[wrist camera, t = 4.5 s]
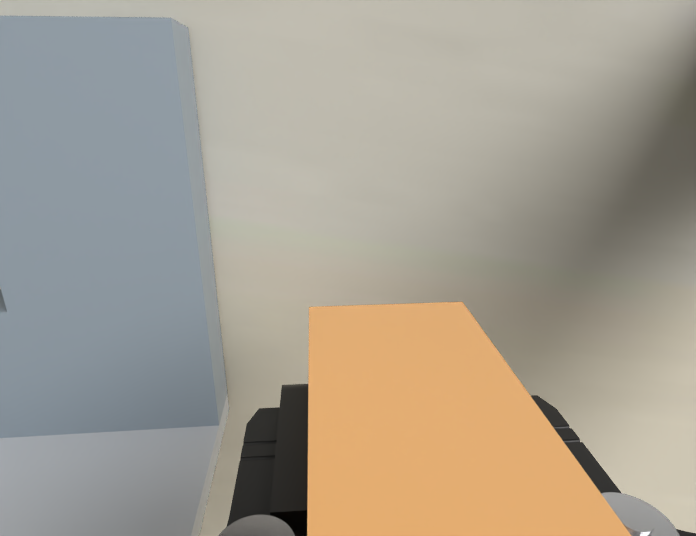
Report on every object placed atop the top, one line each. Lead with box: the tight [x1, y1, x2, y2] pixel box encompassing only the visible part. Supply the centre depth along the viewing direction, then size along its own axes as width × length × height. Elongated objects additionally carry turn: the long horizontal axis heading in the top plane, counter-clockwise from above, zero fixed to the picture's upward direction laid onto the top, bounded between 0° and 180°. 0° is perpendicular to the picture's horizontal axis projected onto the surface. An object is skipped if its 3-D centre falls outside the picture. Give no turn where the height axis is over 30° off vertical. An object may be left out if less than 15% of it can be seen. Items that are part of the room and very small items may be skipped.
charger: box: [307, 302, 631, 536], centre depth 9 cm, size 4×4×9 cm
